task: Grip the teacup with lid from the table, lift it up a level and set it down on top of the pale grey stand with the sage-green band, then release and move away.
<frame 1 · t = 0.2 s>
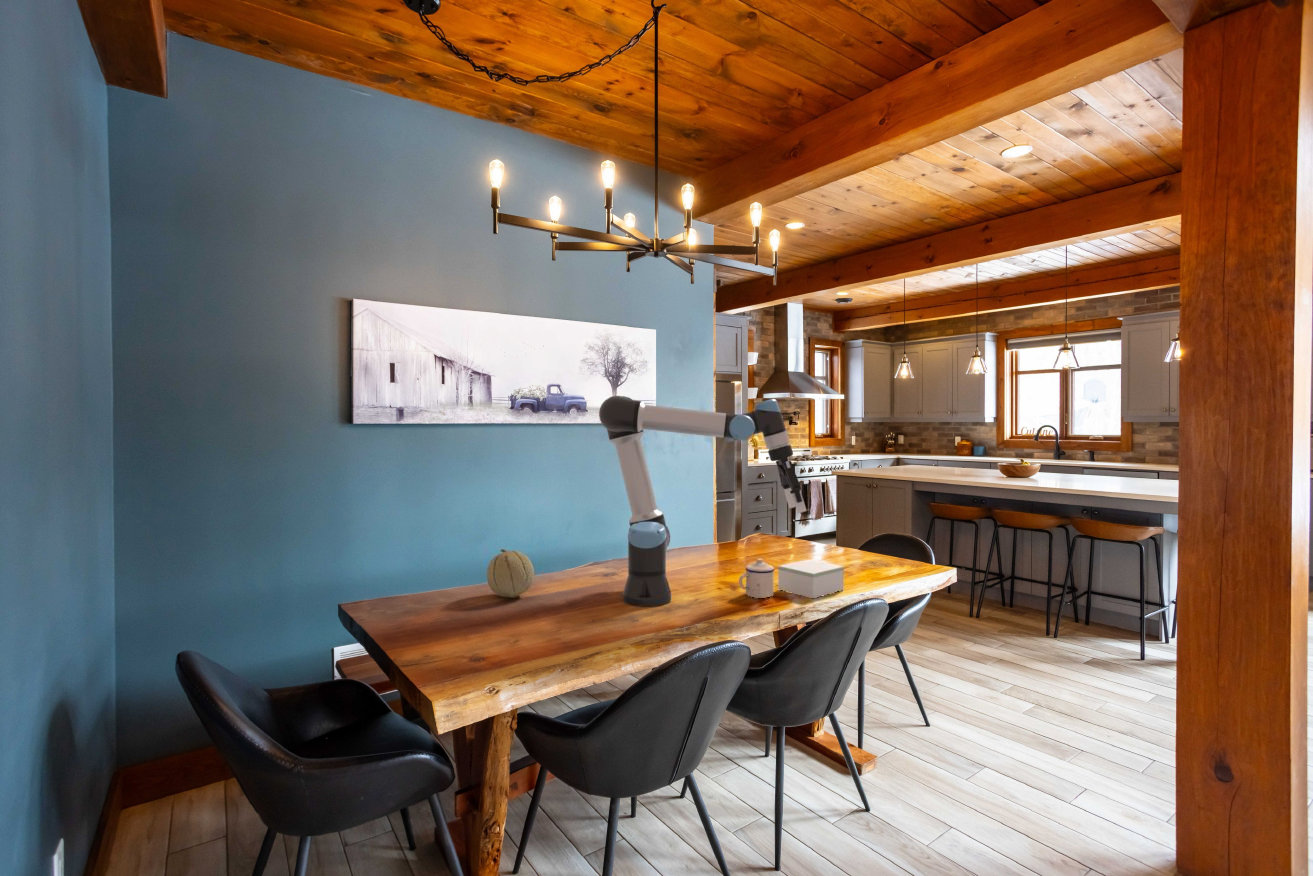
hand: (797, 509, 214), 27 cm above the table, tool tilted 15°, fingers open, 13 cm apart
stand: (810, 590, 218), on the table
cantaloupe: (510, 597, 209), on the table
teacup with lid: (755, 596, 211), on the table
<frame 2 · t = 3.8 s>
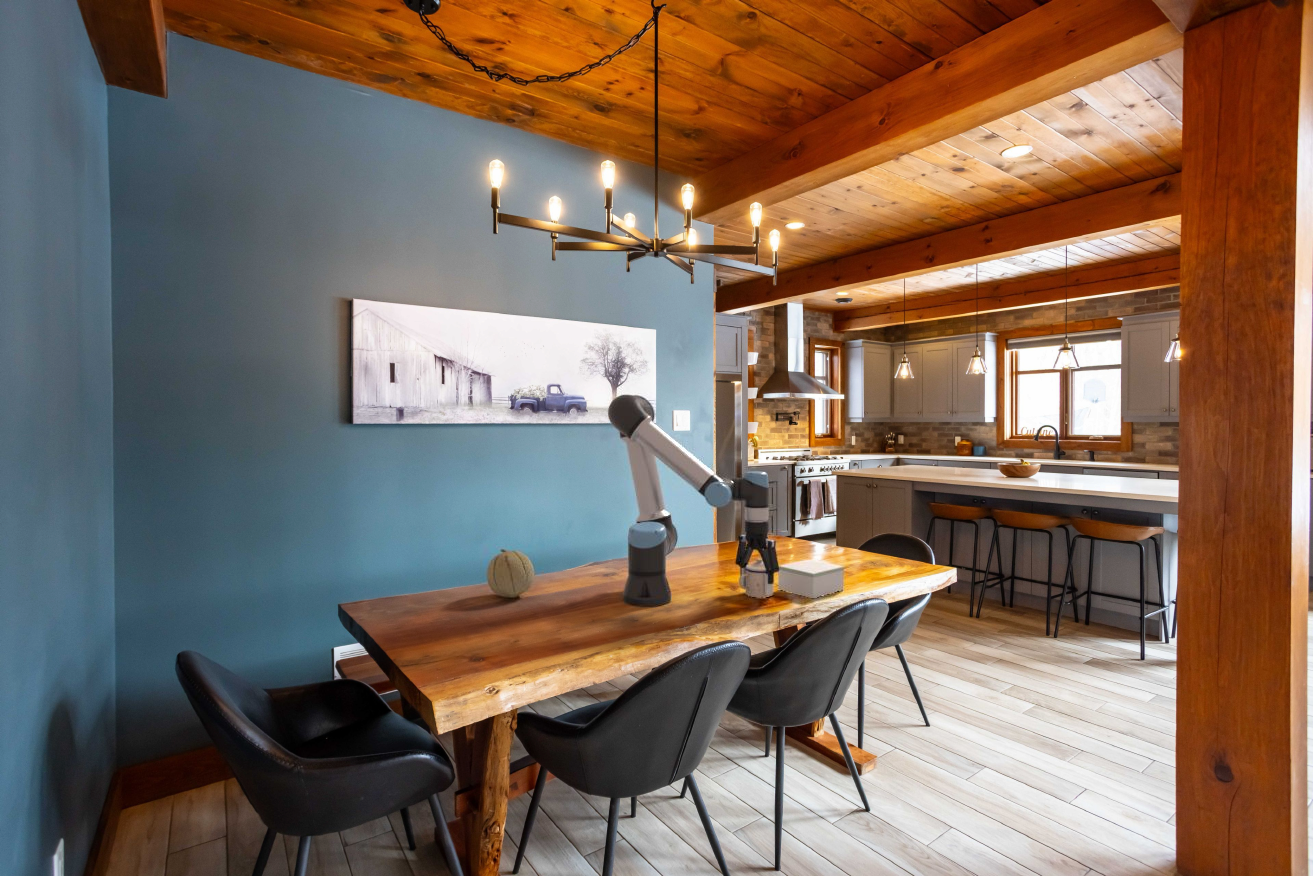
hand: (756, 590, 211), 2 cm above the table, tool pointing down, fingers closed on teacup with lid, 9 cm apart
teacup with lid: (755, 596, 211), on the table, touching gripper
everything else where it was.
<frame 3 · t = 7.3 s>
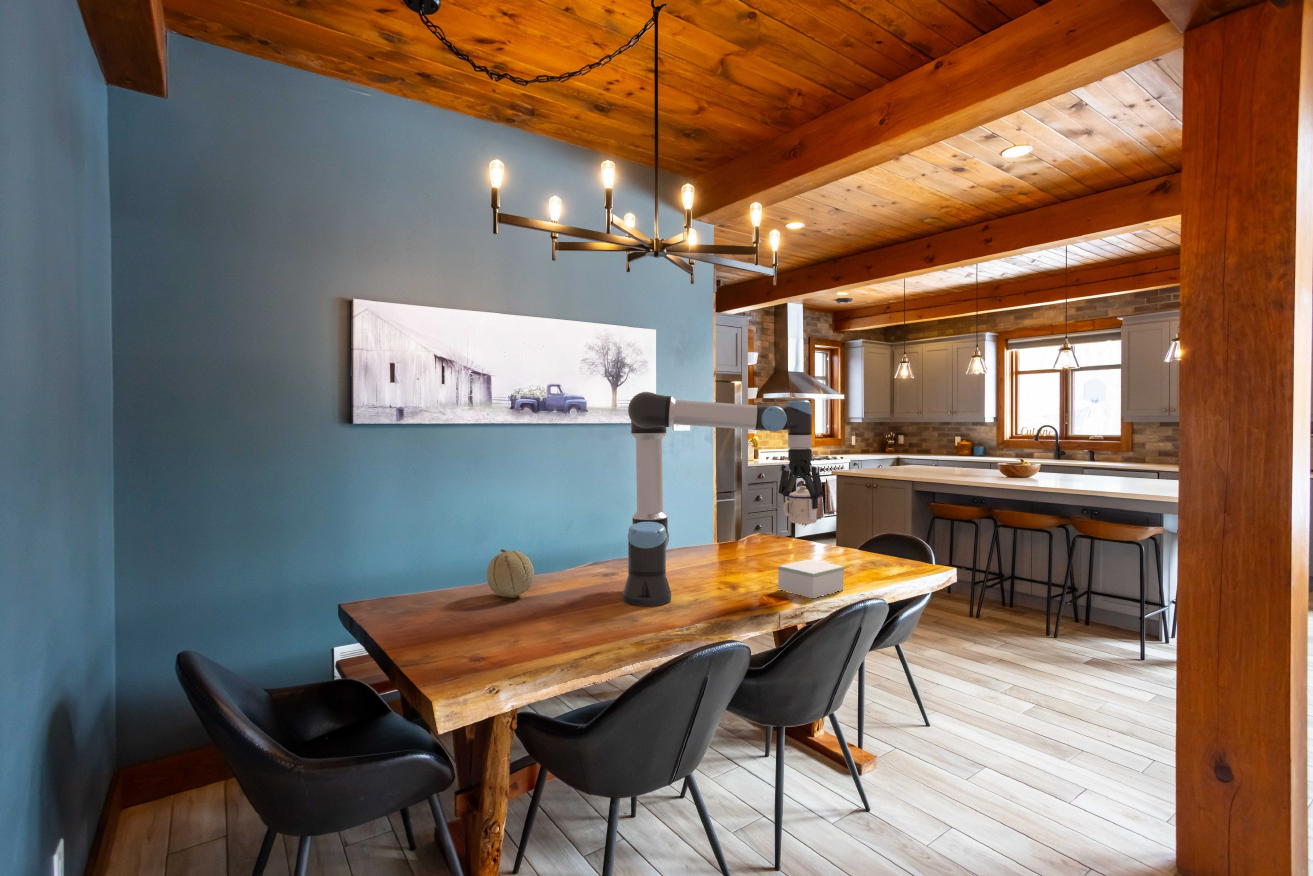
hand: (800, 517, 215), 24 cm above the table, tool pointing down, fingers closed on teacup with lid, 9 cm apart
teacup with lid: (799, 522, 216), point 23 cm above the table, touching gripper
everything else where it was.
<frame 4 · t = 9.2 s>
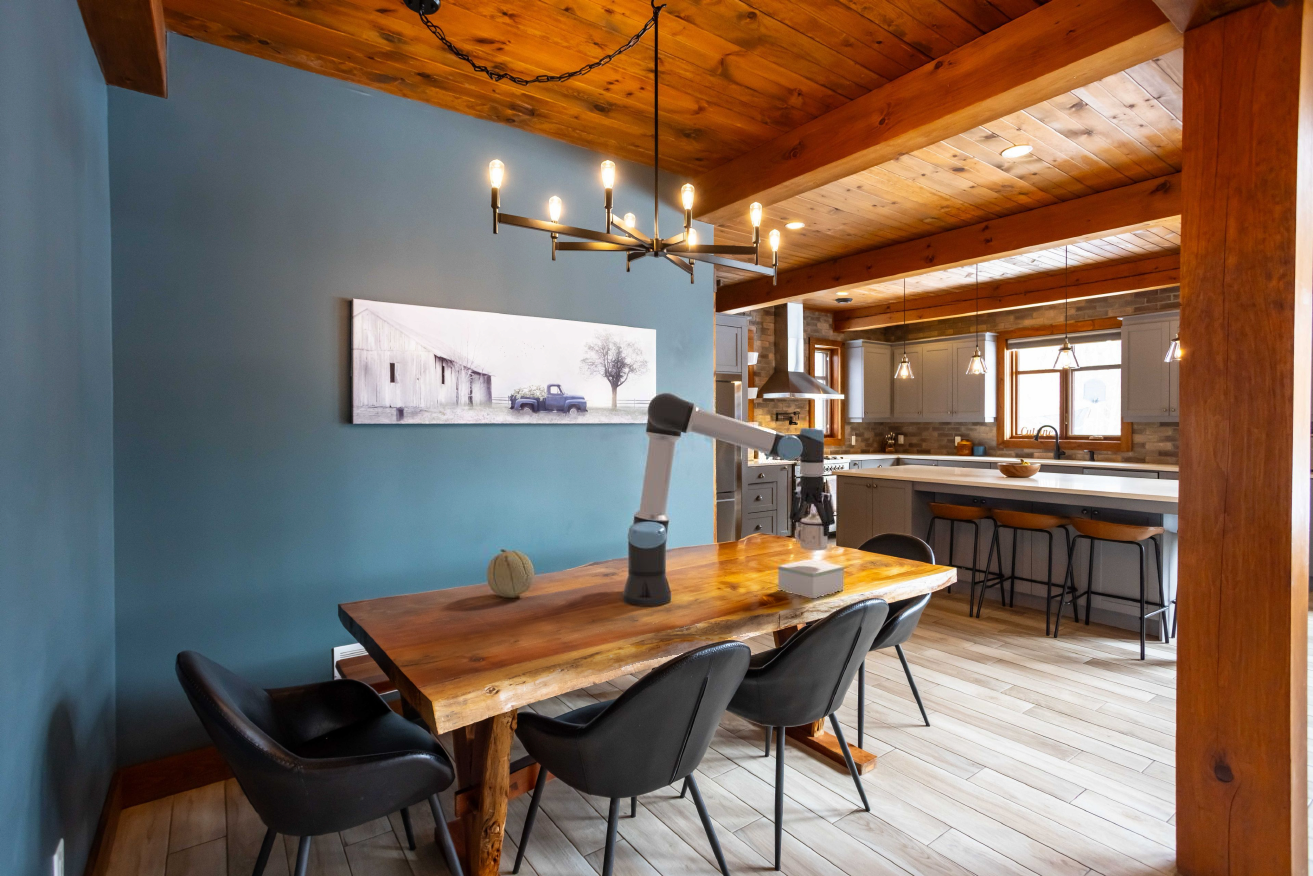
hand: (811, 543, 217), 15 cm above the table, tool pointing down, fingers closed on teacup with lid, 9 cm apart
teacup with lid: (810, 549, 218), point 14 cm above the table, touching gripper
everything else where it was.
when the fingers open (10 cm above the table, at t = 11.1 s): teacup with lid stays where it is, resting on stand.
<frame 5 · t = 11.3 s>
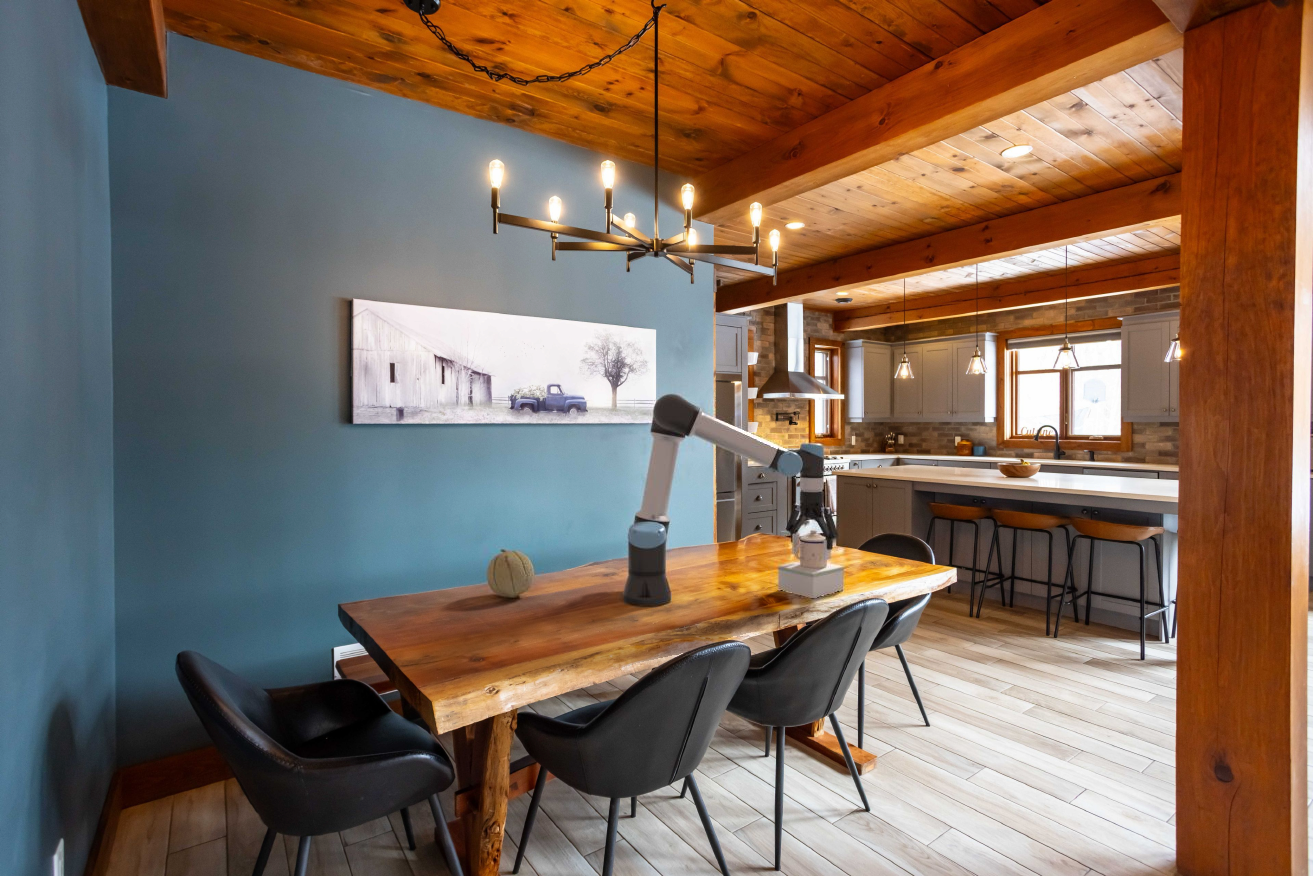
hand: (811, 556, 217), 11 cm above the table, tool pointing down, fingers open, 12 cm apart
teacup with lid: (809, 566, 218), point 8 cm above the table, touching stand
everything else where it was.
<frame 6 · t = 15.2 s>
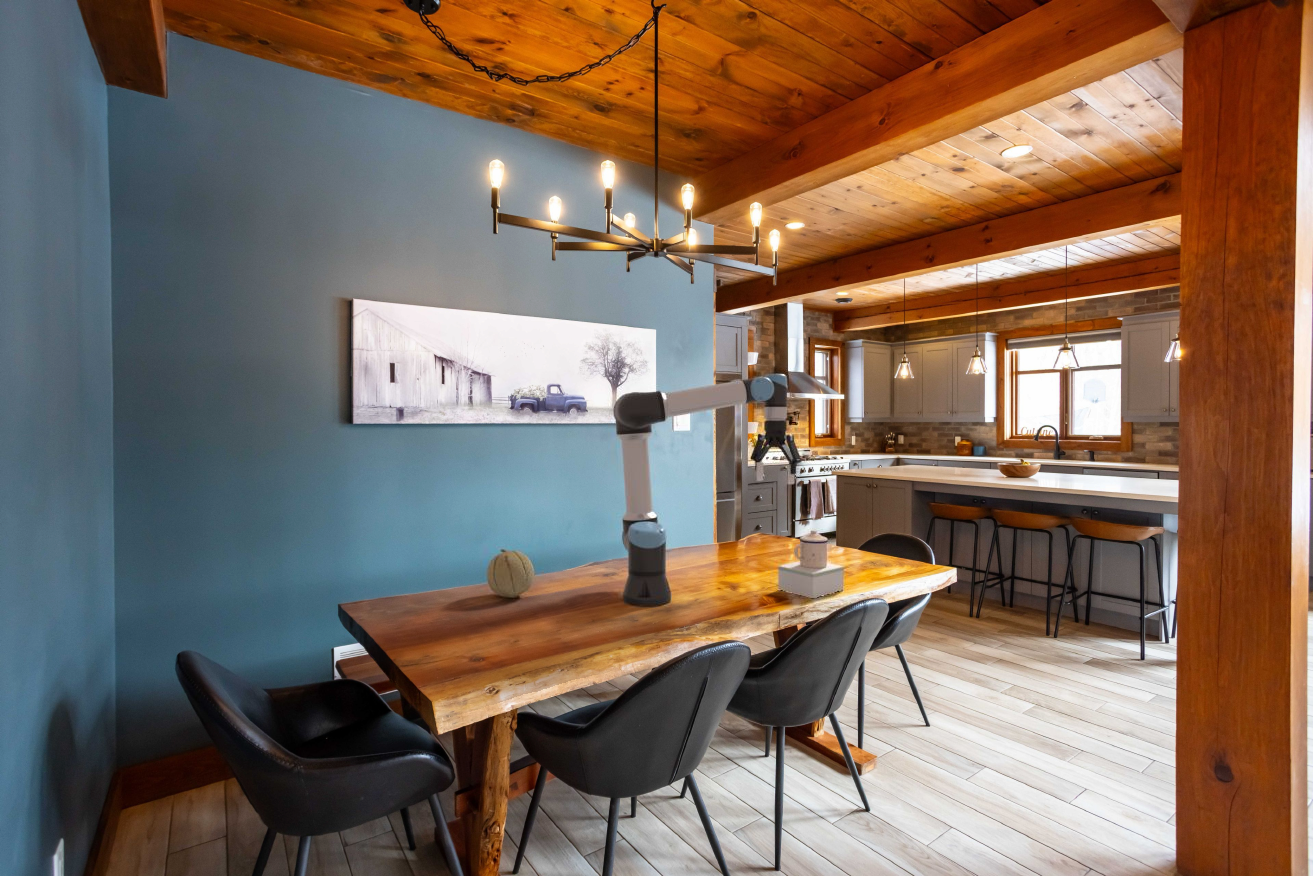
hand: (775, 482, 225), 35 cm above the table, tool pointing down, fingers open, 13 cm apart
nothing on the table moved.
at the end: teacup with lid inside the target area on the stand (0.4 cm from its centre), point 7.8 cm above the stand's base; teacup with lid tilted 0°; the gripper is holding nothing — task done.
